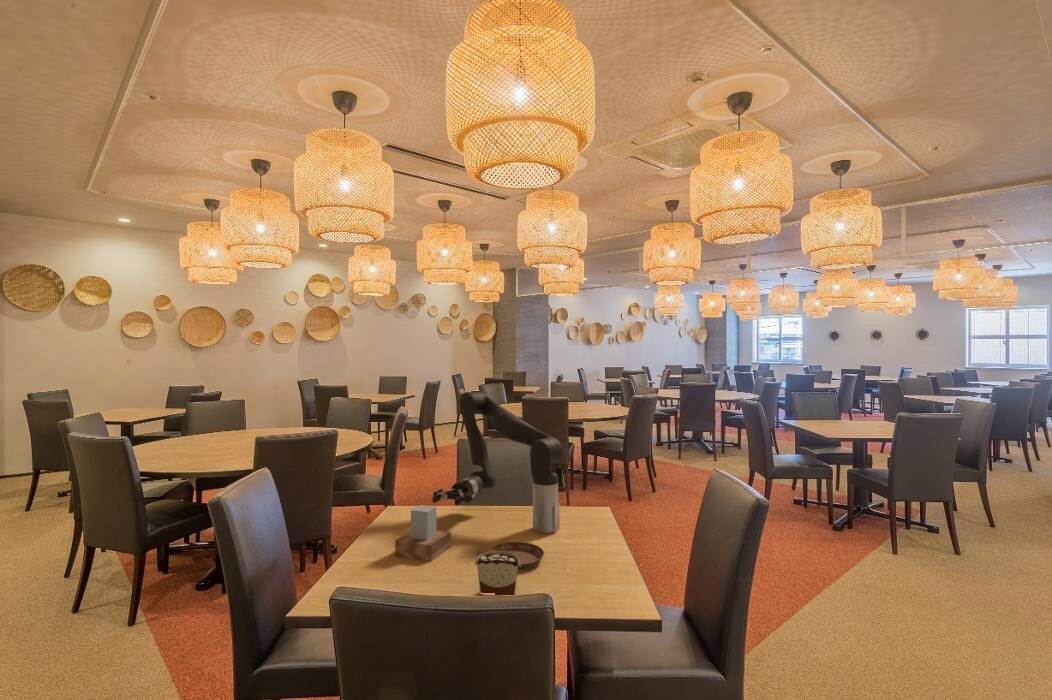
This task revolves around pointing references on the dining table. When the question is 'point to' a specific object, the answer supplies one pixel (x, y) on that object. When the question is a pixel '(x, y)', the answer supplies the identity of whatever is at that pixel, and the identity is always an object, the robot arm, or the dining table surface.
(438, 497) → the robot arm
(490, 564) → the cake slice
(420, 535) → the slate block
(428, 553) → the walnut block
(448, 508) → the dining table surface
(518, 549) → the plant saucer
